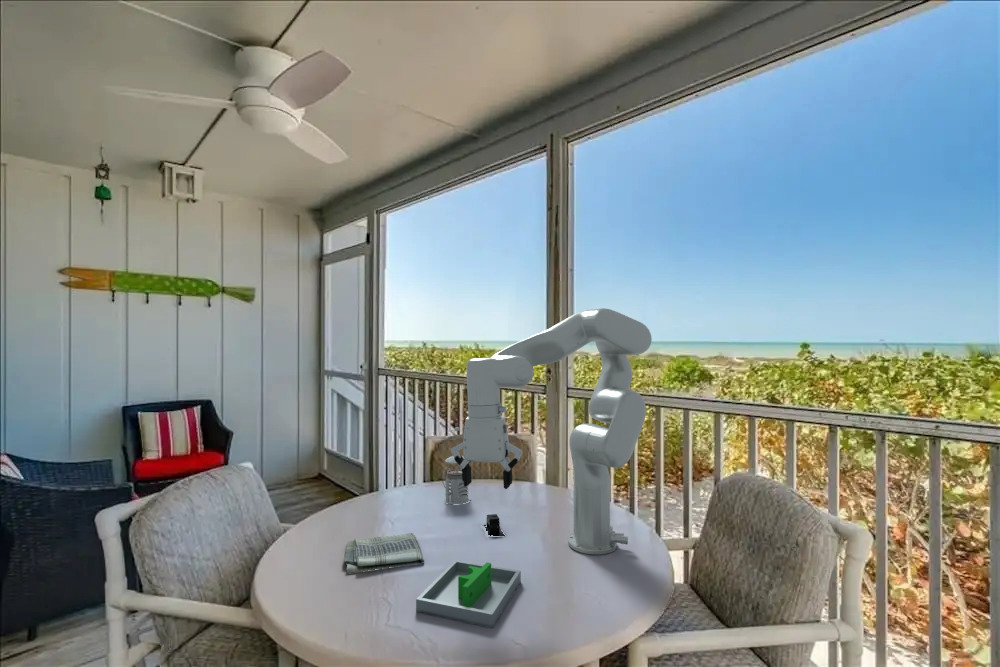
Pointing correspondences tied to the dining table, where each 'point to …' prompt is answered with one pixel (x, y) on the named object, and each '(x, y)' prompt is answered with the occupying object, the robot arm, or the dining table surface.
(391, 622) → the dining table surface
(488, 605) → the tray
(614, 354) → the robot arm
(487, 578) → the pipe clamp
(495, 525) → the black block
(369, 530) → the dining table surface
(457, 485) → the grey metal lantern
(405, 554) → the dish towel
